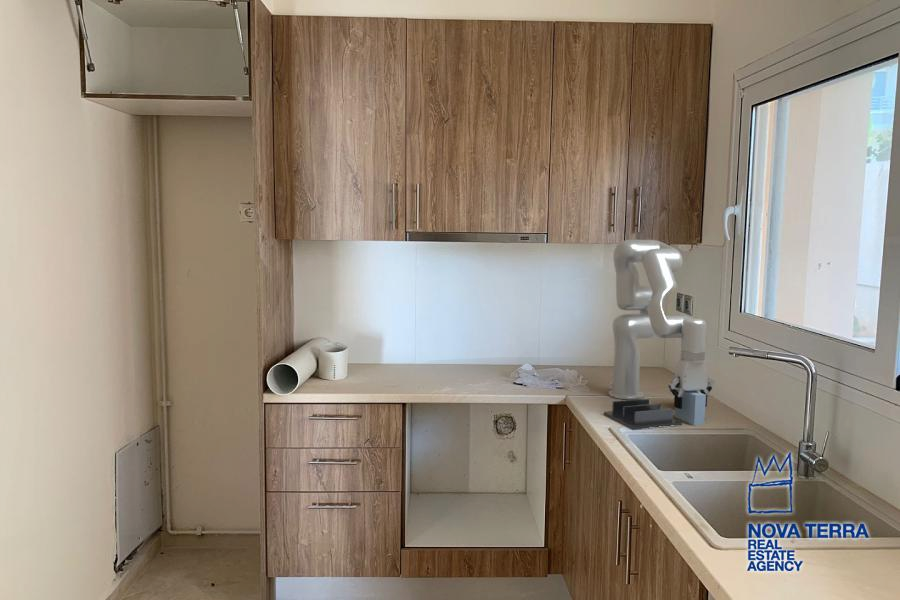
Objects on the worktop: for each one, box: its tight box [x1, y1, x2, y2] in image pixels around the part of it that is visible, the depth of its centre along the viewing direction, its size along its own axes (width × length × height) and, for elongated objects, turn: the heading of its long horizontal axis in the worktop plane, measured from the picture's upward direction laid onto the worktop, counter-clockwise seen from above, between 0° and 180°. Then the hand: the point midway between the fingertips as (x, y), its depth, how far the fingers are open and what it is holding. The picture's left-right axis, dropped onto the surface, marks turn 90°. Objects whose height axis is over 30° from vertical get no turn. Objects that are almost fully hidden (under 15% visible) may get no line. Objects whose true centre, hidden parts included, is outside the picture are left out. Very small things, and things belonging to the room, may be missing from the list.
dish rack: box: [603, 398, 683, 431], centre depth 211 cm, size 18×18×5 cm
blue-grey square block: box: [674, 391, 706, 426], centre depth 211 cm, size 10×4×10 cm, turn 17°
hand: (690, 406), depth 211 cm, fingers open, 9 cm apart
